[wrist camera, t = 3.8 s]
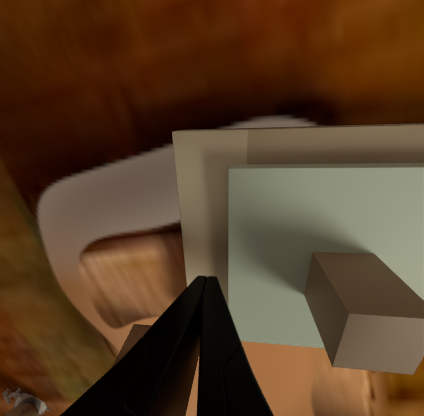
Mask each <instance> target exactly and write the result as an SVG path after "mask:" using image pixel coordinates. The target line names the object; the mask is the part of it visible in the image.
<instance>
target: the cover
mask: <svg viewBox="0 0 424 416" xmlns="http://www.w3.org/2000/svg"><path fill="white" fill-rule="evenodd" d="M228 308H229V310H230V313H231V316H232V319H233V321H234V324H235V327H236V330H237V332H238V335H239V338H240V341H247V342H259V343H271V344H282V345H293V346H305V347H316V348H325V349H326V352H327V354H328V357H329V360H330V362H331V365H332V367H340V368H351V369H361V370H371V371H382V372H392V373H403V374H414V372H415V371H416V369H417V367H418V365H419V364H420V362H421V360H422V358H423V357H424V163H353V164H234V165H229V231H228Z"/></svg>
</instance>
